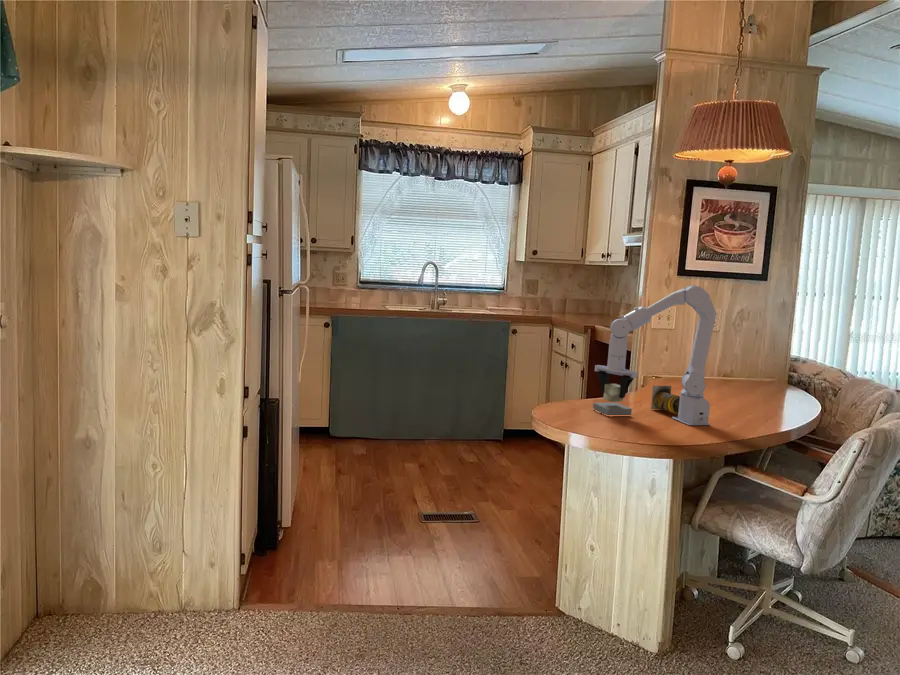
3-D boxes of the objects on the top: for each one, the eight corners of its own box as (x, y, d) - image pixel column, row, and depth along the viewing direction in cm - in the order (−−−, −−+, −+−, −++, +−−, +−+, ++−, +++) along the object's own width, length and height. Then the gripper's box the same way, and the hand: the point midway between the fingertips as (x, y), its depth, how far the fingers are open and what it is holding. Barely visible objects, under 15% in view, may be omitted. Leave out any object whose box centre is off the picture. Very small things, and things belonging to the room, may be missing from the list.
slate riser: (630, 417, 222) (631, 408, 222) (607, 418, 219) (607, 409, 219) (615, 411, 231) (616, 402, 230) (592, 411, 228) (593, 402, 227)
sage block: (622, 401, 223) (624, 386, 223) (611, 401, 222) (612, 386, 221) (614, 398, 227) (615, 383, 227) (603, 398, 226) (604, 384, 225)
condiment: (650, 409, 234) (671, 416, 223) (652, 385, 234) (673, 390, 222) (669, 409, 236) (690, 415, 225) (670, 385, 236) (692, 390, 224)
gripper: (643, 357, 221) (639, 398, 223) (603, 351, 230) (599, 390, 232) (633, 359, 216) (629, 401, 217) (593, 352, 225) (589, 392, 227)
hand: (613, 395), depth 224 cm, fingers closed on sage block, 6 cm apart
